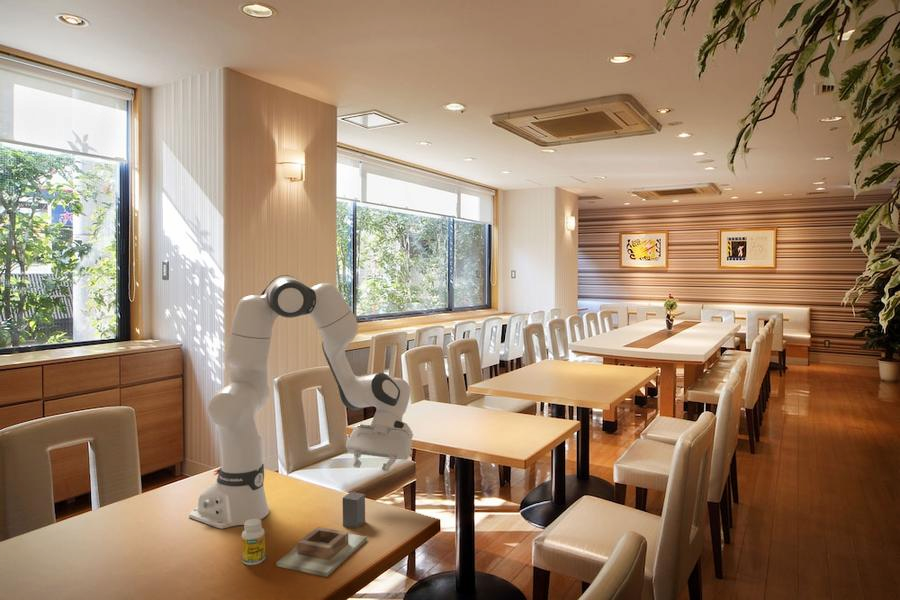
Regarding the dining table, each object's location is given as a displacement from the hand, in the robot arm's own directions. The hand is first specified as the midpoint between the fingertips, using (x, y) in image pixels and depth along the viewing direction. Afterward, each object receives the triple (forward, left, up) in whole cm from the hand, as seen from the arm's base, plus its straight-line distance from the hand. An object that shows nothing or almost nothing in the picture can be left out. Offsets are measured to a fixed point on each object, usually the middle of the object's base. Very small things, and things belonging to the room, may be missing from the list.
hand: (370, 468), depth 170 cm
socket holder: (+1, -27, -12) cm, 30 cm away
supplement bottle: (-13, -36, -13) cm, 40 cm away
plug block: (0, -10, -12) cm, 16 cm away
